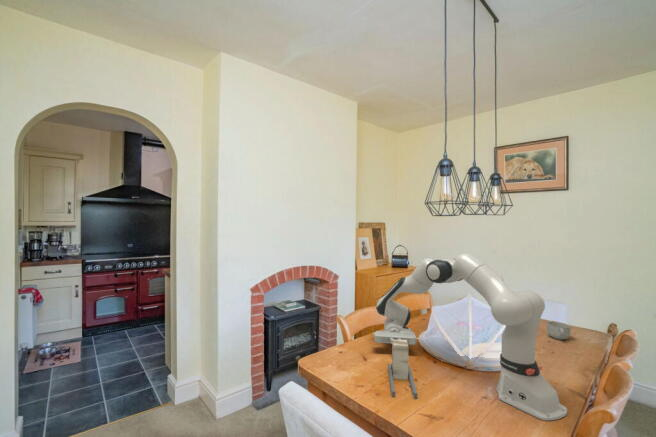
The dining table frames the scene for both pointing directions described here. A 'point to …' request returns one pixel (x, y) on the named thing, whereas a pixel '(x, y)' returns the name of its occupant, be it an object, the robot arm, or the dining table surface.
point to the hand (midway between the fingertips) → (396, 344)
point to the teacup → (558, 330)
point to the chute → (409, 380)
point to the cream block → (400, 359)
